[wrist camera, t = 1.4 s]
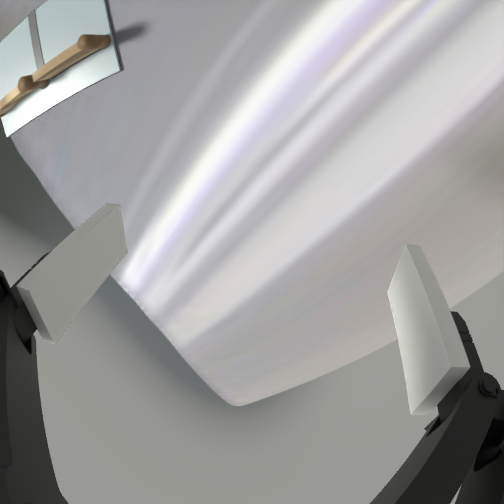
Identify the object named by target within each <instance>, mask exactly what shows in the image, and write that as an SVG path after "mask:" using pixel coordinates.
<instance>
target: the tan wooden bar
mask: <svg viewBox="0 0 504 504" xmlns="http://www.w3.org/2000/svg"><path fill="white" fill-rule="evenodd" d="M34 90H35V89H32V90H29V91H25V92H20V91H19V89H18V85H17V86H16V87H15V88H14V89H13V90H11V91H10V92H9V93H8V94H7V95H6V96H5V97H3V98H2V99H1V100H0V117H3V116H4V114H5V113H6V112H7V111H8V110H9V109H10V108H12V107H13V106H14V105H15V104H17V103H18V102H19V101H20V100H22V99H23V98H24V97H26V96H27V95H28V94H30V93H31V92H32V91H34Z"/></svg>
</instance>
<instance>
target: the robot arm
mask: <svg viewBox="0 0 504 504" xmlns="http://www.w3.org/2000/svg"><path fill="white" fill-rule="evenodd" d="M127 253H128V250H127V245H126V239H125V233H124V227H123V221H122V214H121V207H120V204H112V203H107V204H106V205H105V206H103V207H102V208H101V209H100V210H98V211H97V212H96V213H95V214H93V215H92V216H91V217H90V218H89V219H87V220H86V221H85V222H84V223H83V224H82V225H80V226H79V227H78V228H77V229H76V230H75V231H74V232H72V233H71V234H70V235H69V236H68V237H67V238H66V239H65V240H63V241H62V242H61V243H60V244H59V245H58V246H57V247H56V248H55V249H53V250H52V251H50V252H49V253H47V254H45V255H44V256H43V257H41V258H40V259H39V260H38V261H37V262H36V264H34V265H33V266H32V267H31V269H29V270H28V271H27V272H26V273H25V274H24V275H23V276H22V277H21V278H20V279H19V280H18V281H17V282H16V283H15V284H14V285H13V286H12V287H11V288H10V286H9V284H8V282H7V280H6V278H5V275H4V273H3V272H2V271H1V270H0V504H68V502H67V501H66V500H65V498H64V497H63V496H62V494H61V492H60V490H59V488H58V484H57V481H56V478H55V473H54V470H53V466H52V462H51V457H50V453H49V448H48V444H47V438H46V433H45V428H44V422H43V415H42V408H41V401H40V392H39V384H38V371H37V356H36V339H35V336H34V335H33V333H34V332H35V331H36V330H38V332H39V333H40V335H41V337H42V339H43V340H46V341H48V342H50V343H53V344H56V343H57V342H58V341H59V339H60V338H61V336H62V335H63V334H64V332H65V331H66V330H67V328H68V327H69V325H70V324H71V323H72V321H73V320H74V319H75V317H76V316H77V314H78V313H79V312H80V311H81V310H82V308H83V307H84V306H85V304H86V303H87V302H88V301H89V299H90V298H91V297H92V295H93V294H94V293H95V292H96V290H97V289H98V288H99V286H100V285H101V284H102V283H103V282H104V280H105V279H106V278H107V277H108V276H109V274H110V273H111V272H112V271H113V270H114V268H115V267H116V266H117V265H118V264H119V262H120V261H121V260H122V259H123V258H124V256H125V255H126V254H127ZM387 293H388V297H389V301H390V305H391V310H392V314H393V318H394V323H395V327H396V332H397V337H398V342H399V346H400V351H401V357H402V363H403V368H404V374H405V380H406V386H407V393H408V400H409V407H410V414H411V415H426V414H430V413H431V412H432V410H433V409H434V408H435V407H436V406H438V412H439V415H438V416H437V417H436V418H435V419H434V420H433V421H432V422H431V423H430V424H429V425H428V426H427V427H426V428H425V430H427V429H428V430H427V431H426V433H425V434H424V436H423V437H422V439H421V440H420V442H419V443H418V445H417V446H416V447H415V449H414V450H413V452H412V453H411V454H410V456H409V457H408V458H407V460H406V461H405V462H404V464H403V465H402V466H401V468H400V469H399V471H397V473H396V474H395V475H394V476H393V478H392V479H391V480H390V481H389V482H388V484H387V485H386V486H385V487H384V488H383V489H382V491H381V492H380V493H379V494H378V495H377V496H376V498H375V499H374V500H373V501H372V502H371V503H370V504H450V503H451V501H452V499H453V498H454V496H455V495H456V493H457V491H458V489H459V488H460V486H461V488H460V491H459V494H458V497H457V500H456V502H455V504H504V390H501V388H500V385H499V383H498V381H497V380H496V379H495V378H494V377H493V376H492V375H490V374H488V373H486V372H484V371H483V368H482V365H481V362H480V359H479V356H478V354H477V351H476V348H475V345H474V343H472V341H473V340H472V337H471V335H470V334H469V330H468V327H467V325H466V323H465V321H464V320H463V319H462V317H461V316H460V315H459V314H458V312H451V311H450V310H449V307H448V305H447V302H446V300H445V298H444V295H443V293H442V291H441V289H440V286H439V284H438V282H437V280H436V277H435V275H434V273H433V271H432V269H431V267H430V265H429V263H428V261H427V258H426V256H425V254H424V252H423V250H422V248H421V246H417V245H412V244H406V243H405V246H404V249H403V252H402V254H401V257H400V260H399V263H398V266H397V268H396V271H395V274H394V276H393V279H392V281H391V284H390V287H389V289H388V292H387ZM461 484H462V485H461Z"/></svg>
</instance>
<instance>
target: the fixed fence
mask: <svg viewBox="0 0 504 504" xmlns="http://www.w3.org/2000/svg"><path fill="white" fill-rule="evenodd" d="M110 42H111V38H110V37H109V36H108V35H96V34H83V35H81V36H80V37H79V39H78V41H77V43H75V44H74V45H72V46H71V47H69V48H67V49H66V50H64V51H63V52H61V53H60V54H58V55H57V56H56V57H54V58H53V59H51V60H50V61H48V62H47V63H46V64H44V65H43V66H42V67H40V68H39V69H38V70H36V71H35V72H34V73H32V75H27V76H22V77H21V78H20V79H19V81H18V89H19V91H20V92H25V91H29V90H32V89H36V88H41V87H44V86H46V84H47V82H48V79H51V78H52V77H54V76H55V75H57V74H58V73H60V72H61V71H63V70H64V69H66V68H68V67H69V66H71V65H72V64H74V63H76V62H77V61H79V60H81V59H82V58H84V57H86V56H88V55H89V54H91V53H93V52H95V51H97V50H98V49H105V48H107V47H108V46H109V45H110Z"/></svg>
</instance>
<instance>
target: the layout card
mask: <svg viewBox="0 0 504 504" xmlns="http://www.w3.org/2000/svg"><path fill="white" fill-rule="evenodd" d="M83 34H96V35H108V36H109V37H110V38H111V42H110V45H109V46H108V47H107V48H105V49H98V50H97V51H95V52H93V53H91V54H89V55H88V56H86V57H84V58H82V59H81V60H79V61H77V62H76V63H74V64H72V65H71V66H69V67H68V68H66V69H64V70H63V71H61V72H60V73H58V74H57V75H55V76H54V77H52V78H51V79H48V82H47V84H46V86H44V87H41V88H36V89H35V90H34V91H32V92H31V93H30V94H28V95H27V96H26V97H24V98H23V99H22V100H20V101H19V102H18V103H17V104H15V105H14V106H13V107H12V108H10V109H9V110H8V111H7V112H6V113H5V114H4V116H3V117H1V118H2V122H3V126H4V129H5V133H6V136H7V137H9V136H10V135H11V134H13V133H14V132H16V131H17V130H18V129H20V128H21V127H23V126H24V125H26V124H27V123H28V122H30V121H31V120H33V119H34V118H36V117H37V116H39V115H41V114H42V113H44V112H45V111H47V110H48V109H50V108H52V107H53V106H55V105H57V104H58V103H60V102H62V101H63V100H65V99H67V98H68V97H70V96H72V95H74V94H76V93H77V92H79V91H81V90H83V89H85V88H87V87H89V86H90V85H92V84H94V83H96V82H98V81H100V80H102V79H104V78H106V77H108V76H111V75H113V74H115V73H117V72H119V71H121V67H120V63H119V59H118V55H117V51H116V47H115V43H114V38H113V34H112V29H111V25H110V20H109V16H108V11H107V6H106V1H105V0H48V1H47V2H45V3H44V4H43V5H42V6H40V7H39V8H38V9H37V10H35V9H34V10H33V11H32V12H31V13H30V14H29V15H28V17H27V18H26V19H25V20H24V21H23V22H22V23H20V24H19V25H18V26H17V27H16V28H15V29H14V30H13V31H12V32H11V33H10V34H9V35H8V36H7V37H6V38H5V39H4V40H3V41H2V42H1V43H0V100H1V99H2V98H3V97H5V96H6V95H7V94H8V93H9V92H10V91H11V90H13V89H14V88H15V87H16V86H17V85H18V81H19V79H20V78H21V77H22V76H27V75H32V73H34V72H35V71H36V70H38V69H39V68H40V67H42V66H43V65H44V64H46V63H47V62H48V61H50V60H51V59H53V58H54V57H56V56H57V55H58V54H60V53H61V52H63V51H64V50H66V49H67V48H69V47H71V46H72V45H74V44H75V43H77V41H78V39H79V37H80V36H81V35H83Z"/></svg>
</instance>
